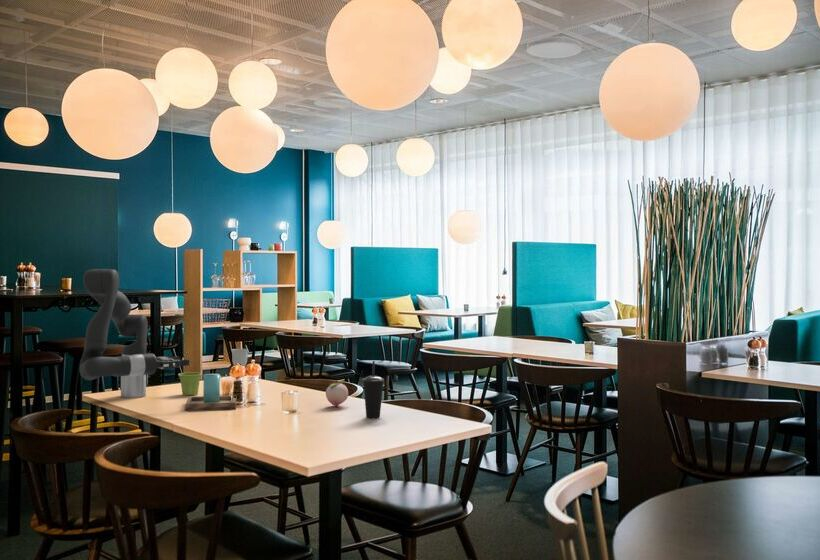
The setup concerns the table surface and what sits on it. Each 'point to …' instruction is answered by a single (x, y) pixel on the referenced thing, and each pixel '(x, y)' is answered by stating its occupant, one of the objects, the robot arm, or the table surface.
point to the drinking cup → (373, 394)
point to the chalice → (239, 356)
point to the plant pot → (190, 382)
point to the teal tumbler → (211, 388)
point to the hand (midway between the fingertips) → (184, 360)
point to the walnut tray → (210, 404)
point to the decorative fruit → (336, 393)
